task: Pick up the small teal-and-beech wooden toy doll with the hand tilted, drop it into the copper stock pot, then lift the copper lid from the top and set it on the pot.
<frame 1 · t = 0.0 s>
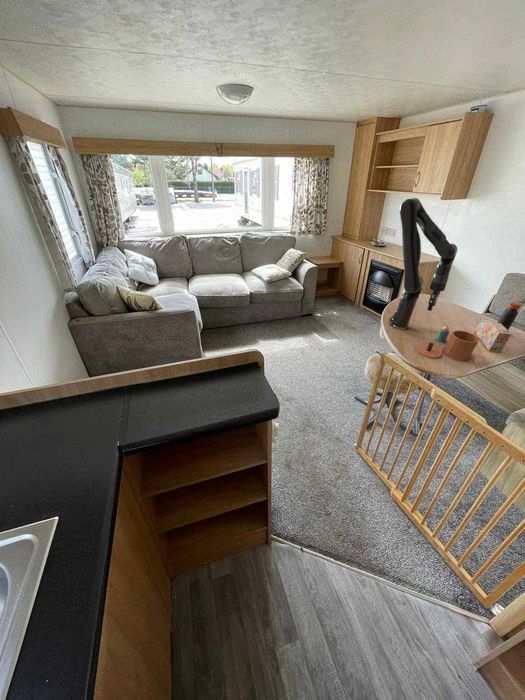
hand: (431, 308, 171), 17 cm above the table, tool pointing down, fingers open, 8 cm apart
bottle: (499, 333, 184), on the table
colourful patterned box: (486, 342, 174), on the table
pot: (456, 354, 161), on the table
toy doll: (440, 340, 173), on the table
lid: (428, 350, 162), point 1 cm above the table
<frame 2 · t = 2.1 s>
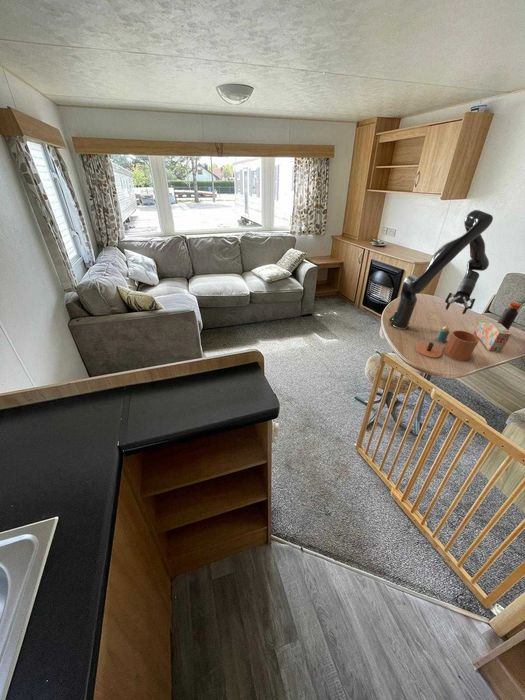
hand: (454, 311, 172), 15 cm above the table, tool tilted 45°, fingers open, 8 cm apart
nothing on the table moved.
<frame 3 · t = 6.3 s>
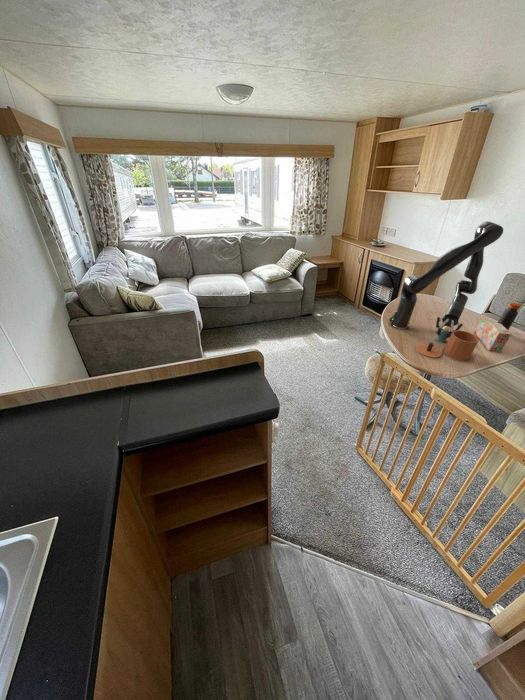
hand: (442, 336, 169), 4 cm above the table, tool tilted 45°, fingers closed on toy doll, 4 cm apart
toy doll: (440, 340, 173), on the table, touching gripper
everything else where it was.
when the fingers open (15 cm above the table, at t = 13.3 s): toy doll drops 10 cm, resting on pot.
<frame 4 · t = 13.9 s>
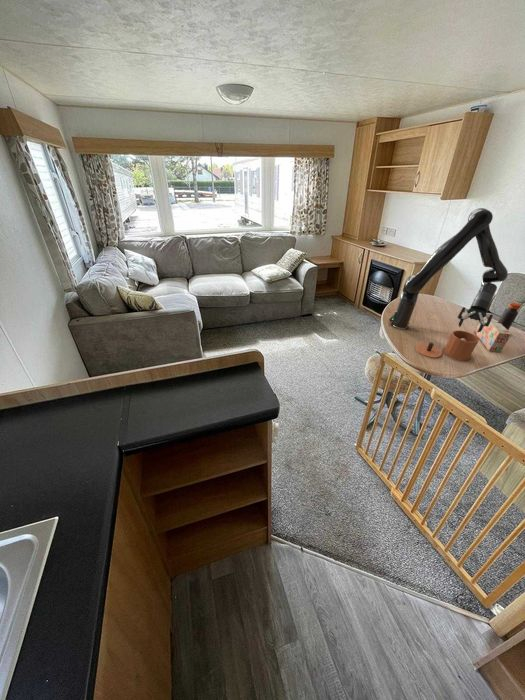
hand: (469, 329, 151), 17 cm above the table, tool tilted 45°, fingers open, 8 cm apart
toy doll: (456, 353, 161), resting on pot
everything else where it was.
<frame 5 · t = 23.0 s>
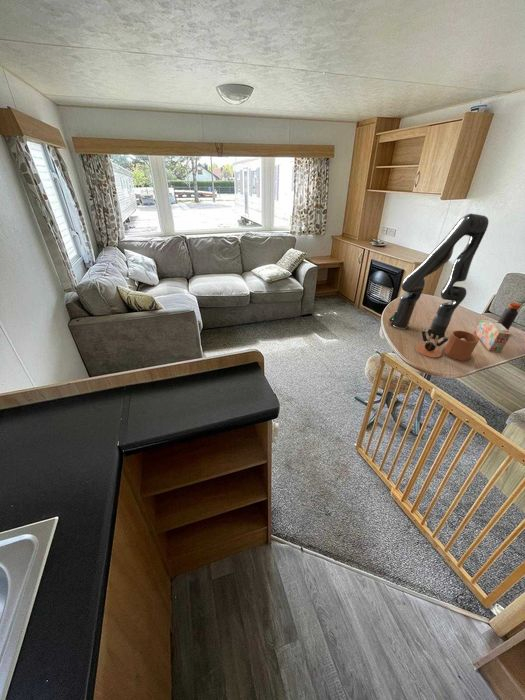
hand: (428, 349, 162), 2 cm above the table, tool pointing down, fingers closed on lid, 2 cm apart
lid: (428, 350, 162), point 1 cm above the table, touching gripper
everything else where it was.
when the fingers open (13 cm above the table, at t = 29.3 s): lid stays where it is, resting on pot.
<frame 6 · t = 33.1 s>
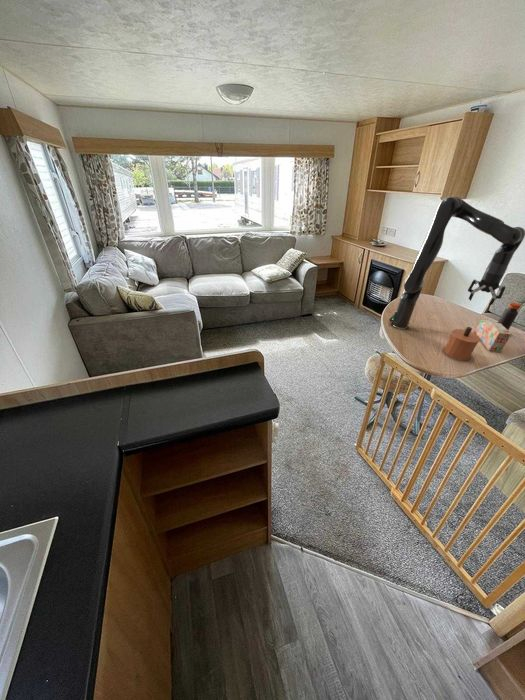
hand: (479, 302, 148), 30 cm above the table, tool pointing down, fingers open, 8 cm apart
lid: (465, 336, 155), point 12 cm above the table, touching pot
everything else where it was.
at the end: toy doll inside the target area in the pot (0.1 cm from its centre), point 0.5 cm above the pot's base; lid 0.0 cm off-centre on the pot, point 12.0 cm above the pot's base; lid tilted 0° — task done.
